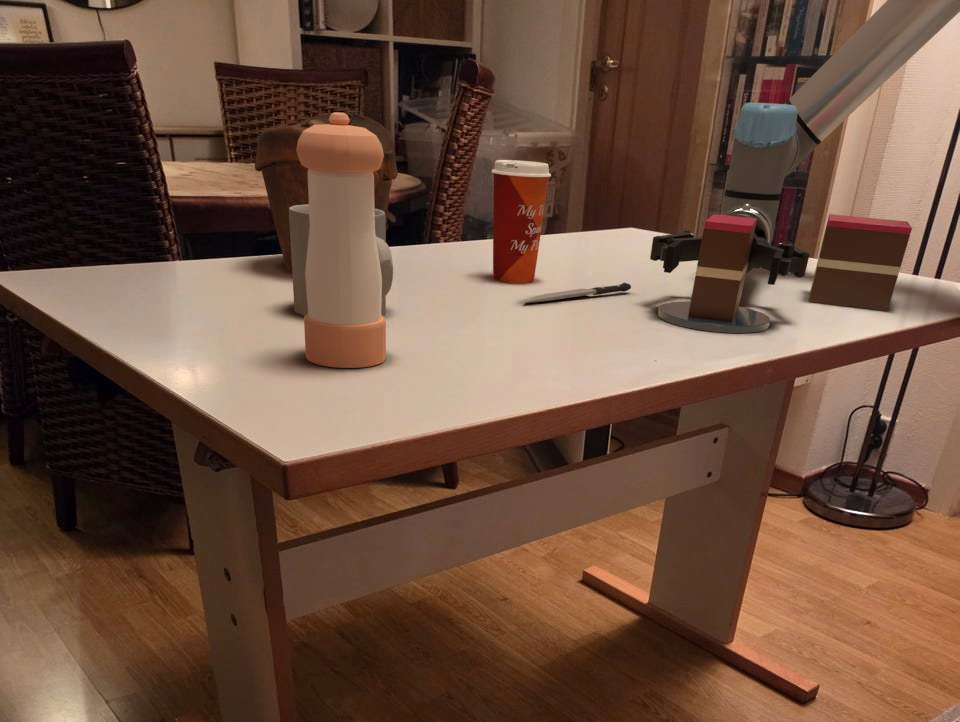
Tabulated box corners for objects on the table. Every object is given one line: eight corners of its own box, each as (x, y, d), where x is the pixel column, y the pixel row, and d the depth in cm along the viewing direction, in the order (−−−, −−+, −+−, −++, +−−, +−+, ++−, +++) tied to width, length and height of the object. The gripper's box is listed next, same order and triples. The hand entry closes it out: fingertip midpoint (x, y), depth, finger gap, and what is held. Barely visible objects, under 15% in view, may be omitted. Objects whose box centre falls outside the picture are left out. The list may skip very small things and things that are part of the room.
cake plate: (772, 316, 106) (773, 309, 105) (765, 338, 95) (767, 331, 95) (666, 303, 109) (667, 296, 109) (649, 323, 98) (650, 316, 98)
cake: (884, 300, 119) (908, 221, 114) (887, 311, 113) (912, 227, 108) (809, 292, 122) (829, 214, 117) (808, 301, 116) (829, 219, 110)
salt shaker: (291, 352, 79) (276, 108, 69) (359, 344, 83) (355, 111, 73) (330, 372, 74) (321, 113, 64) (401, 362, 78) (402, 116, 68)
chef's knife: (507, 301, 105) (523, 304, 103) (507, 291, 104) (523, 294, 102) (616, 289, 115) (632, 291, 113) (616, 279, 115) (633, 282, 113)
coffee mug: (280, 303, 96) (274, 204, 91) (362, 299, 101) (360, 203, 95) (329, 331, 87) (325, 222, 81) (416, 324, 91) (418, 220, 86)
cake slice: (738, 309, 104) (757, 218, 99) (732, 322, 98) (752, 225, 92) (696, 304, 106) (713, 214, 100) (688, 316, 99) (705, 220, 94)
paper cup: (525, 287, 113) (535, 165, 105) (475, 278, 116) (481, 160, 108) (551, 279, 119) (562, 163, 111) (502, 271, 122) (509, 158, 114)
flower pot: (283, 285, 105) (272, 113, 95) (248, 257, 120) (236, 105, 110) (419, 282, 112) (422, 121, 102) (370, 255, 127) (369, 113, 117)
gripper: (655, 202, 114) (622, 217, 96) (838, 219, 108) (839, 239, 90) (646, 263, 118) (613, 288, 100) (822, 283, 112) (820, 314, 94)
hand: (720, 265), depth 95 cm, fingers open, 11 cm apart
